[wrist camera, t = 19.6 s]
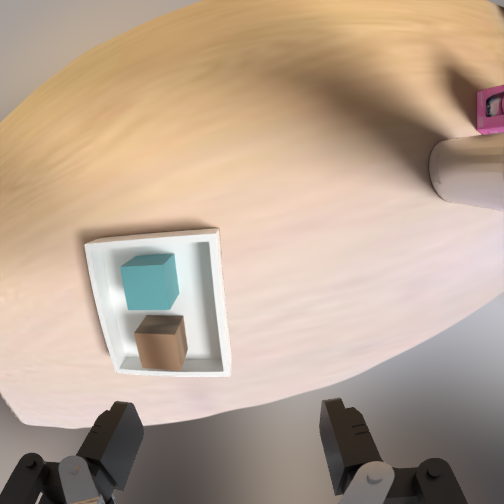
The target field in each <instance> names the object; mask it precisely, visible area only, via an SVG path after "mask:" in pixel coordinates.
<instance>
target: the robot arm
mask: <svg viewBox="0 0 504 504" xmlns="http://www.w3.org/2000/svg"><path fill="white" fill-rule="evenodd" d="M429 172H430V178H431V182H432V184H433V187H434V189H435V190H436V192H437V194H438V195H439V196H440V197H441V198H442V199H444V200H445V201H447V202H450V203H457V204H464V205H470V206H477V207H483V208H489V209H494V210H500V211H504V132H501V133H493V134H484V135H477V136H470V137H463V138H456V139H450V140H444V141H441V142H439V143H438V144H437V145H436V146H435V147H434V149H433V150H432V153H431V155H430V161H429ZM319 428H320V436H321V440H322V444H323V448H324V452H325V456H326V460H327V464H328V468H329V472H330V476H331V480H332V485H333V489H334V493H335V495H341V494H343V496H342V498H341V500H340V501H339V503H338V504H468V503H467V501H466V499H465V497H464V495H463V492H462V490H461V488H460V486H459V484H458V482H457V480H456V478H455V476H454V474H453V471H452V469H451V467H450V466H449V464H448V463H447V462H446V461H445V460H443V459H440V458H431V459H427V460H425V461H424V462H422V463H421V464H420V465H419V467H416V468H400V469H399V468H393V467H391V466H390V465H388V464H387V463H384V462H383V460H382V459H381V457H380V455H379V452H378V450H377V447H376V445H375V443H374V441H373V438H372V436H371V434H370V432H369V429H368V427H367V425H366V423H365V420H364V418H363V415H362V414H361V413H360V412H359V411H357V410H356V409H355V408H354V407H352V408H346V409H345V407H344V404H343V402H342V399H341V398H335V399H328V400H323V401H322V406H321V415H320V424H319ZM143 435H144V429H143V425H142V423H141V420H140V418H139V416H138V413H137V411H136V409H135V406H134V405H133V403H128V402H121V401H116V402H114V404H113V406H112V407H111V409H110V411H108V410H106V411H105V412H103V413H102V414H101V415H100V416H98V418H97V420H96V421H95V423H94V426H92V428H91V430H90V432H89V433H88V435H87V437H86V439H85V441H84V442H83V444H82V446H81V447H80V449H79V451H78V453H77V454H76V456H69V457H66V458H64V459H63V460H62V461H61V462H60V463H56V462H45V461H44V460H43V459H42V457H41V456H40V455H38V454H36V453H28V454H25V455H24V456H23V457H22V458H21V459H20V461H19V462H18V464H17V466H16V467H15V469H14V471H13V472H12V474H11V476H10V478H9V480H8V482H7V483H6V485H5V487H4V489H3V491H2V492H1V494H0V504H35V503H36V501H37V498H38V496H39V494H40V492H42V493H43V495H42V497H41V499H40V501H39V504H117V502H116V500H115V498H114V496H113V494H112V492H113V490H114V489H118V490H122V491H123V490H124V487H125V485H126V482H127V479H128V476H129V474H130V471H131V468H132V466H133V463H134V460H135V457H136V455H137V452H138V449H139V447H140V444H141V442H142V439H143Z"/></svg>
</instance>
